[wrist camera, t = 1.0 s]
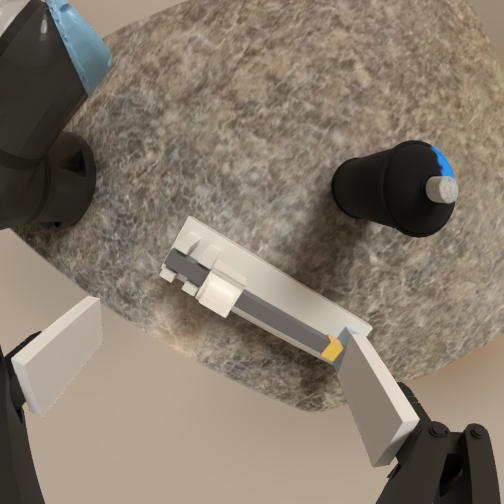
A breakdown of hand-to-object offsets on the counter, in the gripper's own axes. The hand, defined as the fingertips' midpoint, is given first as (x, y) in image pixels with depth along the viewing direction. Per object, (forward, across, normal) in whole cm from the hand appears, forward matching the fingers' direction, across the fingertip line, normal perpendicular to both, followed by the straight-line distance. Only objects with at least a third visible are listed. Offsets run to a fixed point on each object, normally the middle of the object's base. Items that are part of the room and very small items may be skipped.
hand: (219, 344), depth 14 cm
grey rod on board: (+24, +5, -7) cm, 26 cm away
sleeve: (+21, -1, -4) cm, 21 cm away
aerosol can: (+25, +15, +10) cm, 30 cm away
